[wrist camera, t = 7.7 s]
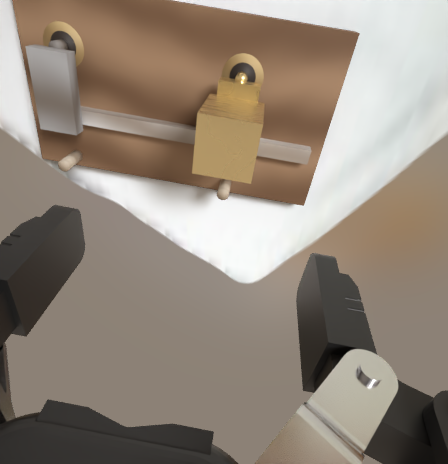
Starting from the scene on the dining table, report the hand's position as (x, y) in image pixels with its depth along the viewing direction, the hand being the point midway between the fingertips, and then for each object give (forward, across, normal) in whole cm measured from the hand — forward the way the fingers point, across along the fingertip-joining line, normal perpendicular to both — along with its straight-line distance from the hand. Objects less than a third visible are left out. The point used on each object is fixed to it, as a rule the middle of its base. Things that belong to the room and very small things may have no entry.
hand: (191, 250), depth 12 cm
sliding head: (+18, 0, +1) cm, 18 cm away
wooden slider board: (+20, +5, +1) cm, 21 cm away
